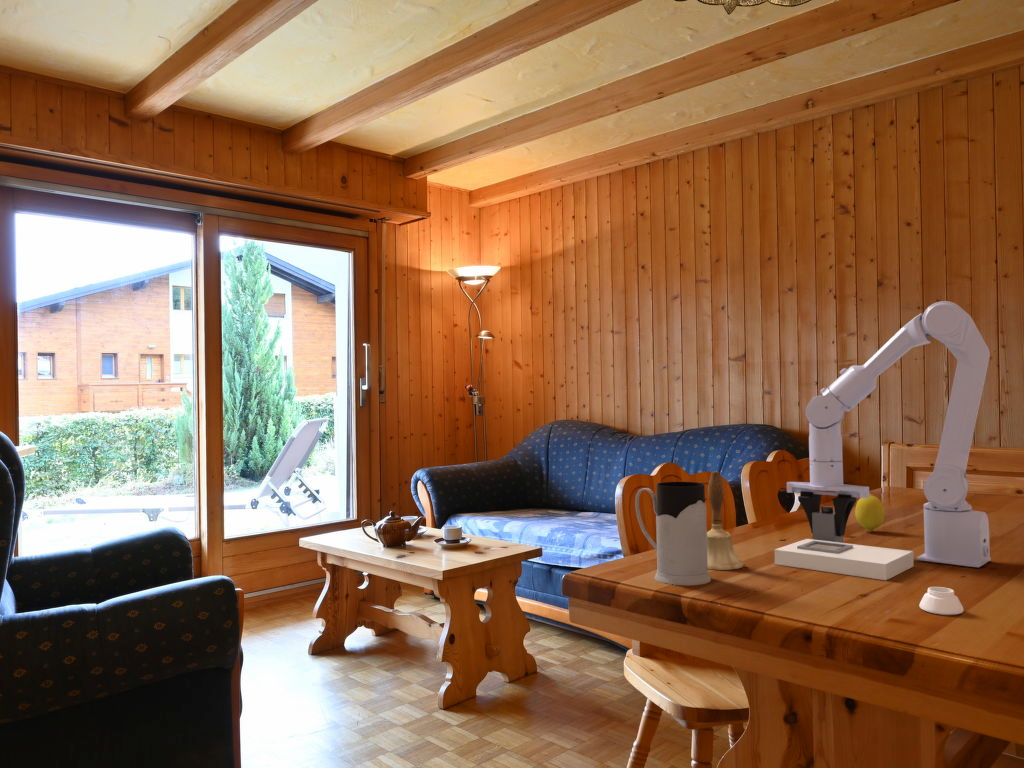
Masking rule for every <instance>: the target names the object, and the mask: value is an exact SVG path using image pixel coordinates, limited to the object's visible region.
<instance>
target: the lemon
mask: <svg viewBox="0 0 1024 768" xmlns="http://www.w3.org/2000/svg"><path fill="white" fill-rule="evenodd" d="M854 515H855V518H856V521H857V523H858V524H859V525H860V526H861V527H862V528H864V529H866V530H867V531H868V532H869V533H872V532H874V530H875V529H878V528H879V527H881V526H882V524H883V523H884V520H885V508H884V504H883V502H882V500H880V499H879V498H878V497H877V496H875V495H873V494H872V493H869V497H868V498H859V499H858V500H857V501H856V503H855V509H854Z"/></svg>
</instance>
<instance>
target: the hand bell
mask: <svg viewBox="0 0 1024 768" xmlns="http://www.w3.org/2000/svg"><path fill="white" fill-rule="evenodd" d="M710 473H711V474H710V478H709V480H708V485H707V493H708V500H709V502H710V505H711V529H710V530H707V562H708V570H714V571H731V570H738V569H741V568H744V566H745V565H744V562H743V561H742V560H741V559H740V558H739V557H738V555H737V553H736V552H735V548H734V546H733V542H732V534H731V533H729V532H728V531H726V530H724V529H723V520H722V505H723V501H724V494H725V493H724V492H725V491H724V483H723V481H722V477H721V476H720V471H711V472H710Z"/></svg>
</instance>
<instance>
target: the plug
mask: <svg viewBox="0 0 1024 768" xmlns="http://www.w3.org/2000/svg"><path fill="white" fill-rule="evenodd" d="M820 508H821V509H820V511H816V512H813V513H812V528H813V533H812V539H814V540H822V541H831V542H839V543H844V535H843V536H841V537H839V536H837V535H836V517H835V510H834V506H829V505H823V506H820Z"/></svg>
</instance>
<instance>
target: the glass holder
mask: <svg viewBox="0 0 1024 768" xmlns="http://www.w3.org/2000/svg"><path fill="white" fill-rule="evenodd" d="M705 487H706V486H705V483H704V482H703V483H702V482H698V481H697V482H695V481H662V482H658V483H656V494H655V492H654V491H653V490H652V489H651V488H648V487H643V488H640V489H638V491H637V492H636V495H635V500H634V501H635V504H634V505H635V512H636V518H637V521H638V525H639V527H640V530H641V532H642V533H643V536H644V537H645V538H646V539H647V541H648V542H649V544H650V545H651V546H652V547H653V548H654V550H655V552H656V563H657V564H656V566H657V567H656V568H657V569H656V573H655V575H654V580H655V581H657V582H658V583H661V584H662V583H663V584H666V583H667V584H666V585H672V584H673V586H674V585H675V586H699V585H705V584H708V583H709V582H711V581H712V579H711V576H710V575H709V574H710V573H709V571H708V570H709V569H708V562H707V532H708V529H707V527H708V526H707V524H708V523H707V503H706V491H705V489H706V488H705ZM643 491H647V492H648V493H649V495H650V496H651V500H652V505H653V506H652V508H653V512H654V514H655V515H656V516H655V527H656V542H655V541H654V540H653V538H652V537H651V536H650V534H649V532H648V530H647V529H646V527H645V525H644V522H643V519H642V515H641V511H640V495H642V492H643Z"/></svg>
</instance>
